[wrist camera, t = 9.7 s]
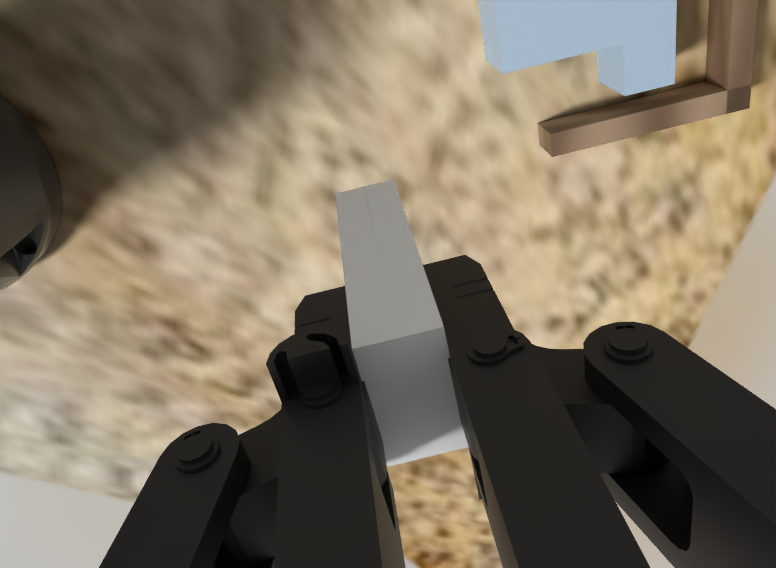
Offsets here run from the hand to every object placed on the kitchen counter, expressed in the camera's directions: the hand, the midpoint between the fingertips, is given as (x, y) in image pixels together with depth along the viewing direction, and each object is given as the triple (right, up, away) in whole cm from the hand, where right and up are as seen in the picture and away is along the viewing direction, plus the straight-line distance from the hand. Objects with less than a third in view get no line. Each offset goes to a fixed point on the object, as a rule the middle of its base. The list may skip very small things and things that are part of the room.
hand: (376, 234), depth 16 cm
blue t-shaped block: (+11, +16, +21) cm, 28 cm away
